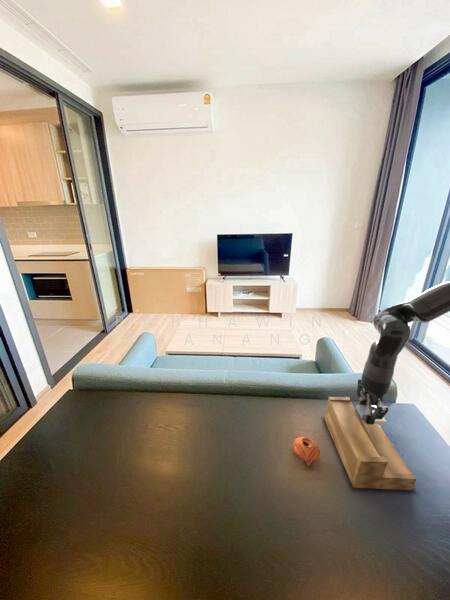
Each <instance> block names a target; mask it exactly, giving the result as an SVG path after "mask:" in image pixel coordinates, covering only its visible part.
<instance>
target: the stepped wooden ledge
mask: <svg viewBox="0 0 450 600" xmlns="http://www.w3.org/2000/svg"><path fill="white" fill-rule="evenodd" d="M350 398H351V397H349V396H328V399H327V403H326V409H325V415H324V419H323V420H324V421H325V425H326V426H327V429H328V431H329V434H330V436H331V438H332V441H333V444H334V446H335V448H336V450H337V452H338V453H337V454H338V455H339V457H340V460H341V462H342V464H343V467H344V470H345V471H346V474H347V476H348V479H349V481H350V483H351V486H352V488H355V489H356V488H357V489H375V490H376V489H379V490H400V491H401V490H402V491H403V490H404V491H412V490H413V488H414V487H415V484H416V482H417V477H416V476H415V473H412V472H411V471H410V469H409V467H408V466H407V464H406V463H405V461H404V460H403V458H402V456H401V455H400V454H399V453H398V451H397V449H396V448H395V446H394V445H393V444H392V442H391V441H390V439H389V437H388V436H387V435H386V433H385V432H384V430H383V428H382V427H381V424H372V425H370V424H363V422H362V420H361V419H360V417H359V415H358V414H357V412H356V410H355V409H356V408H355V407H354V405H353V403H352V402H351V399H350Z"/></svg>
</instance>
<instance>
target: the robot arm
mask: <svg viewBox="0 0 450 600" xmlns="http://www.w3.org/2000/svg"><path fill="white" fill-rule="evenodd" d="M447 313H450V281H446V282H443V283H440V284H438V285H435V286H433V287H431V288H429V289H427V290H425V291H424V292H422V293H420V294H418V295H416V296H415V297H413V298H411V299H410V300H407V301H403V302H400V303H397V304H394V305H392V306H389V307H385V308H383V309H382V310H380V311H379V312H377V314H376V315H375V316H374V317H373V319H372V325H373V327H374V329H375V330H376V332H378V334H379V339H378V340H376V341H373V342H372V343H371V346H370V348H369V351H368V355H367V359H366V361H365V363H364V366H363V371H362V374H361V378H359V379H357V391H356V396H357V397H359V398H358V401H359V404H358V405H367V407H368V415H367V419H366V423H367V424H370V425H372V424H374V422H375V419H382V418H383V417H384V418H385V416H386V414H387V413H388V412H389V408H388V406H385V405H384V403H383V402H384V396H385V395H387V394H388V393H389V390H390V386H391V384H392V380H393V377H394V373H395V369H396V368H395V367H396V365H397V362H398V357H399V355H400V354H401V352H402V351H403V349H404V348H405V346H406V345H407V344H408V342H409V340H410V338H411V332H412V331H411V330H412V329H411V326H410V324H409V323H412V322H419V323H424V324H425V323H426V324H427V323H430V322H432V321H434V320H435V319H437V318H440V317H442V316H443V315H445V314H447ZM372 411H374V412H372Z"/></svg>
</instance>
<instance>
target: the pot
mask: <svg viewBox="0 0 450 600" xmlns="http://www.w3.org/2000/svg"><path fill="white" fill-rule="evenodd" d="M292 449H293V452H294V453H295V455H296V456H297V457H298V458H299V459H300V460H302V461H304V462H305V463H306V466H307V467H309V466H311V464H312V462H315V461H318V459H319V458H320V455H321V450H320V447H319V446H318V444H317V443H316V442H315V441H314V440H312V438H310V437H307V436H299V437H296V438H295V440H294V441H293V443H292Z"/></svg>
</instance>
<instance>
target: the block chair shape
mask: <svg viewBox="0 0 450 600" xmlns="http://www.w3.org/2000/svg"><path fill="white" fill-rule="evenodd" d="M354 409H355V410H356V412H357V414H358V415H359V417H360V419H361V420H362V422H363V424H367V423H366V419H367V415H368V407H367V405H359V404H355V408H354ZM374 411H375V410H372V412H374ZM387 422H388V421H387V420H386V418H385V416H384V417H383V418H382V419H375V422H374V424H379V425H387Z"/></svg>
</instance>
